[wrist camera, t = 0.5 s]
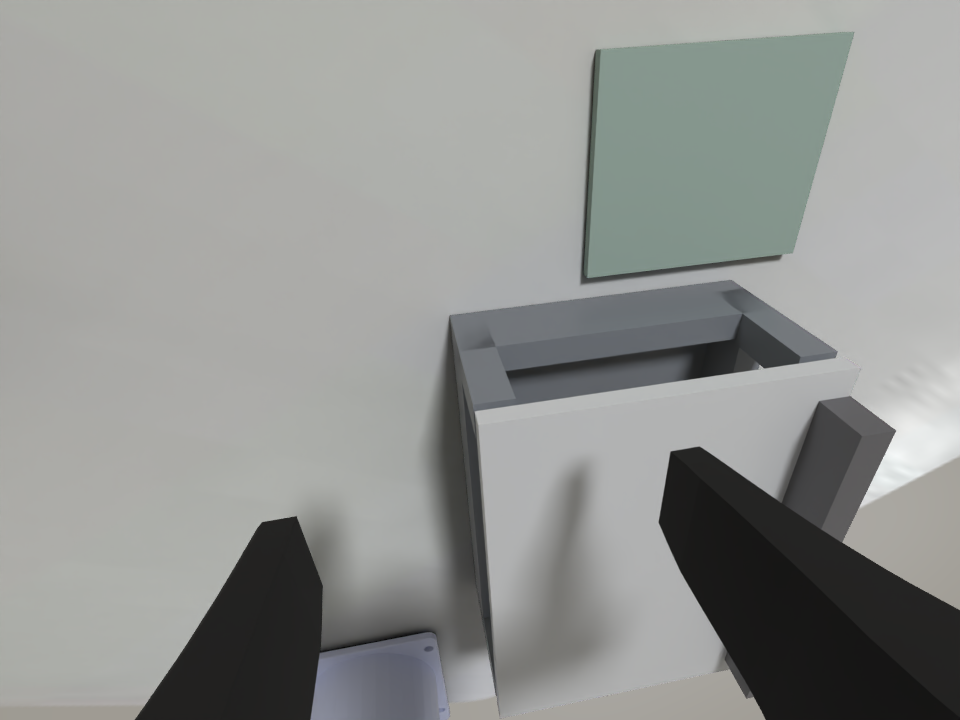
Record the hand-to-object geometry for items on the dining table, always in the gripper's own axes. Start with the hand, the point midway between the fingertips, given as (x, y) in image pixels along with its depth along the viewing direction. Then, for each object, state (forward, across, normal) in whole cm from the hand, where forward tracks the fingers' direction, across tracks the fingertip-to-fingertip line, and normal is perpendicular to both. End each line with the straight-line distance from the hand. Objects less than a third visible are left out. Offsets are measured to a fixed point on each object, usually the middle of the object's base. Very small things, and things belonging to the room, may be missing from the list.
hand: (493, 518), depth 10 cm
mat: (+10, -9, -4) cm, 14 cm away
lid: (+4, -6, +9) cm, 11 cm away
